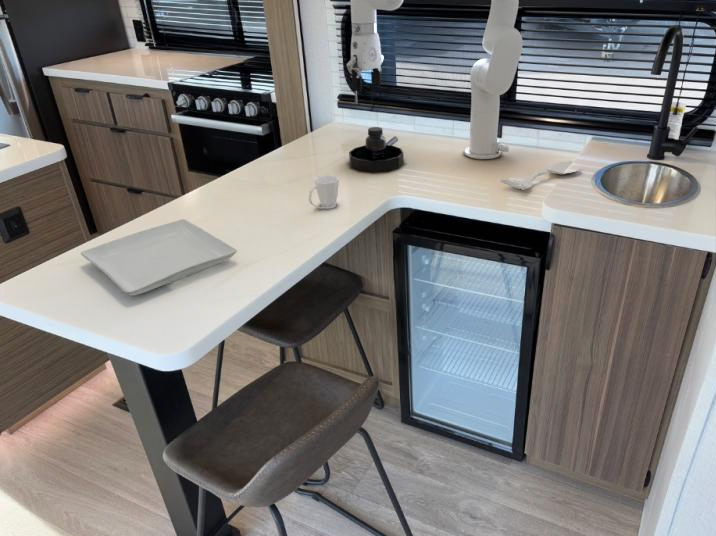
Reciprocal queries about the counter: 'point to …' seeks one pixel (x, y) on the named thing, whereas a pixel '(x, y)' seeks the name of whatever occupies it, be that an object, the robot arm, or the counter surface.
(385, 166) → the pan
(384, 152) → the supplement bottle
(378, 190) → the counter surface
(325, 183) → the cup
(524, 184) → the spoon
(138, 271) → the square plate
